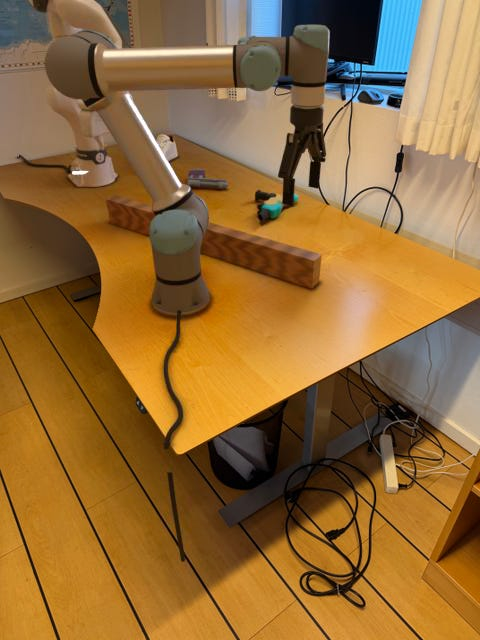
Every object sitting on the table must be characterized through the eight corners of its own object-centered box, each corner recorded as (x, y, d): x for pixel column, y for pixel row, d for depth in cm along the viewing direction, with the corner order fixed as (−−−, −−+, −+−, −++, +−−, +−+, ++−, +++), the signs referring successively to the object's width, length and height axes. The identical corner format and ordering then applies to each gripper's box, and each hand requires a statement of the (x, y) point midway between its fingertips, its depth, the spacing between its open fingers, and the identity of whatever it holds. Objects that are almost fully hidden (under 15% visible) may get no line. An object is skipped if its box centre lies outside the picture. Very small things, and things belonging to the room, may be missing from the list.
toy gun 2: (232, 207, 164) (271, 215, 159) (264, 184, 183) (300, 190, 177) (232, 219, 167) (271, 227, 161) (263, 195, 186) (299, 202, 180)
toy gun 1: (234, 179, 200) (226, 192, 189) (191, 176, 204) (181, 189, 192) (234, 170, 198) (226, 182, 186) (191, 167, 201) (180, 179, 189)
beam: (319, 282, 133) (321, 254, 128) (311, 289, 130) (314, 261, 125) (119, 218, 170) (115, 195, 164) (110, 222, 167) (105, 199, 162)
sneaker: (133, 173, 208) (129, 144, 201) (161, 153, 230) (158, 127, 223) (155, 175, 205) (151, 146, 198) (180, 155, 227) (178, 129, 220)
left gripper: (124, 90, 149) (131, 136, 158) (72, 103, 136) (82, 152, 144) (139, 92, 146) (144, 139, 155) (87, 105, 133) (97, 155, 141)
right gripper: (317, 93, 117) (310, 178, 130) (263, 114, 101) (262, 208, 113) (345, 97, 114) (336, 183, 126) (295, 118, 97) (289, 215, 110)
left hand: (114, 145), depth 149 cm, fingers open, 8 cm apart
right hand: (301, 195), depth 120 cm, fingers open, 13 cm apart
